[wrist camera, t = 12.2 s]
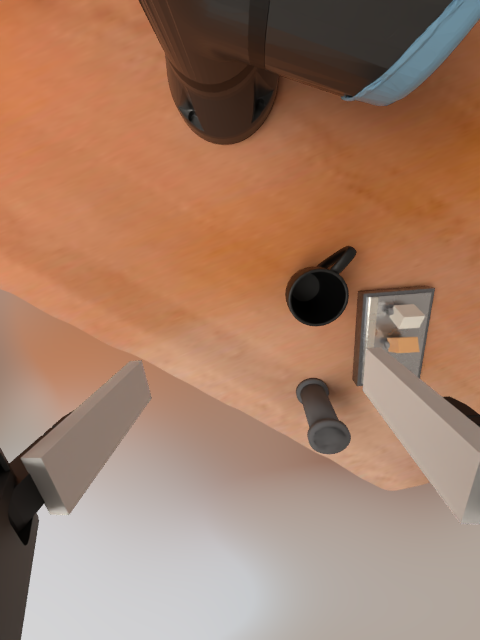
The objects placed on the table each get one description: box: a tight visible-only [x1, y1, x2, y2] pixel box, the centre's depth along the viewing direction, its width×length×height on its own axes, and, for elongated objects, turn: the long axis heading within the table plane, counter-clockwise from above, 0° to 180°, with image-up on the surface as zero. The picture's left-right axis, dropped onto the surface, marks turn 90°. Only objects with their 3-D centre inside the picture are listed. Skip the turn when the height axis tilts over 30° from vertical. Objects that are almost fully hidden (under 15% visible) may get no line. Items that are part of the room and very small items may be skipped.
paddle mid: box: [384, 337, 420, 353], centre depth 37 cm, size 2×4×4 cm, turn 97°
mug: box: [285, 246, 357, 326], centre depth 34 cm, size 8×12×10 cm
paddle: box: [388, 304, 425, 329], centre depth 35 cm, size 2×4×4 cm, turn 95°
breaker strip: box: [352, 286, 435, 386], centre depth 40 cm, size 18×11×3 cm, turn 6°
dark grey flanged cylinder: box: [296, 378, 351, 454], centre depth 40 cm, size 6×6×12 cm
